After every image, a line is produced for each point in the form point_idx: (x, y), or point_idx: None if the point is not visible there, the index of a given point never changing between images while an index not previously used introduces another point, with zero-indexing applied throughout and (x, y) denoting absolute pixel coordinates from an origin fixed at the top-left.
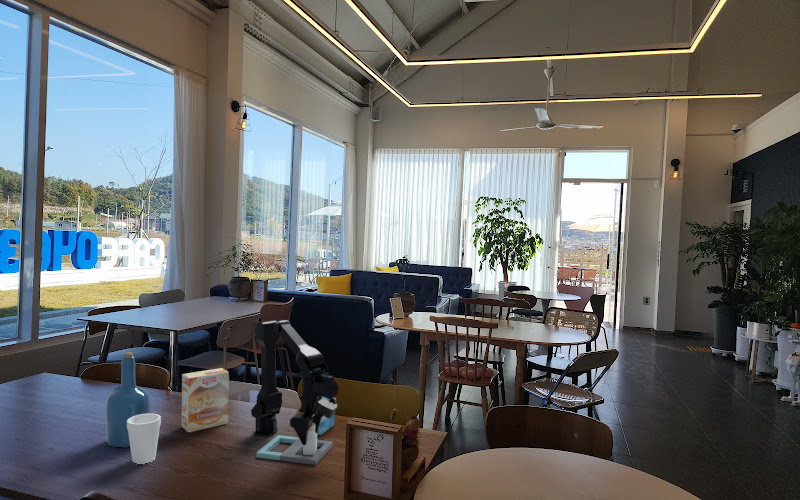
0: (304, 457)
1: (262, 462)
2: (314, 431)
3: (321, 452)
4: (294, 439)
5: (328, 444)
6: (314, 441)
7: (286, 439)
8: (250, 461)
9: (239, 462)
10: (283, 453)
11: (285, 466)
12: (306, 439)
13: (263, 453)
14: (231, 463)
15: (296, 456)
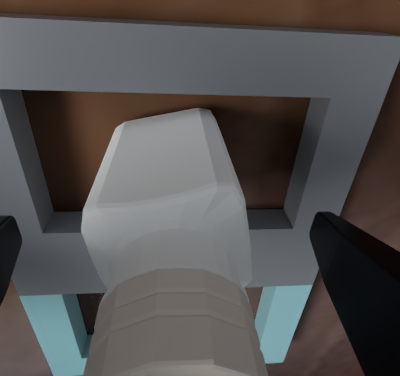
0: (344, 151)
1: (326, 308)
2: (186, 256)
3: (227, 43)
4: (65, 306)
5: (4, 39)
6: (227, 164)
7: (76, 333)
8: (317, 340)
9: (326, 359)
10: (283, 280)
11: (380, 213)
12: (379, 245)
13: (290, 342)
14: (334, 370)
15: (325, 206)
